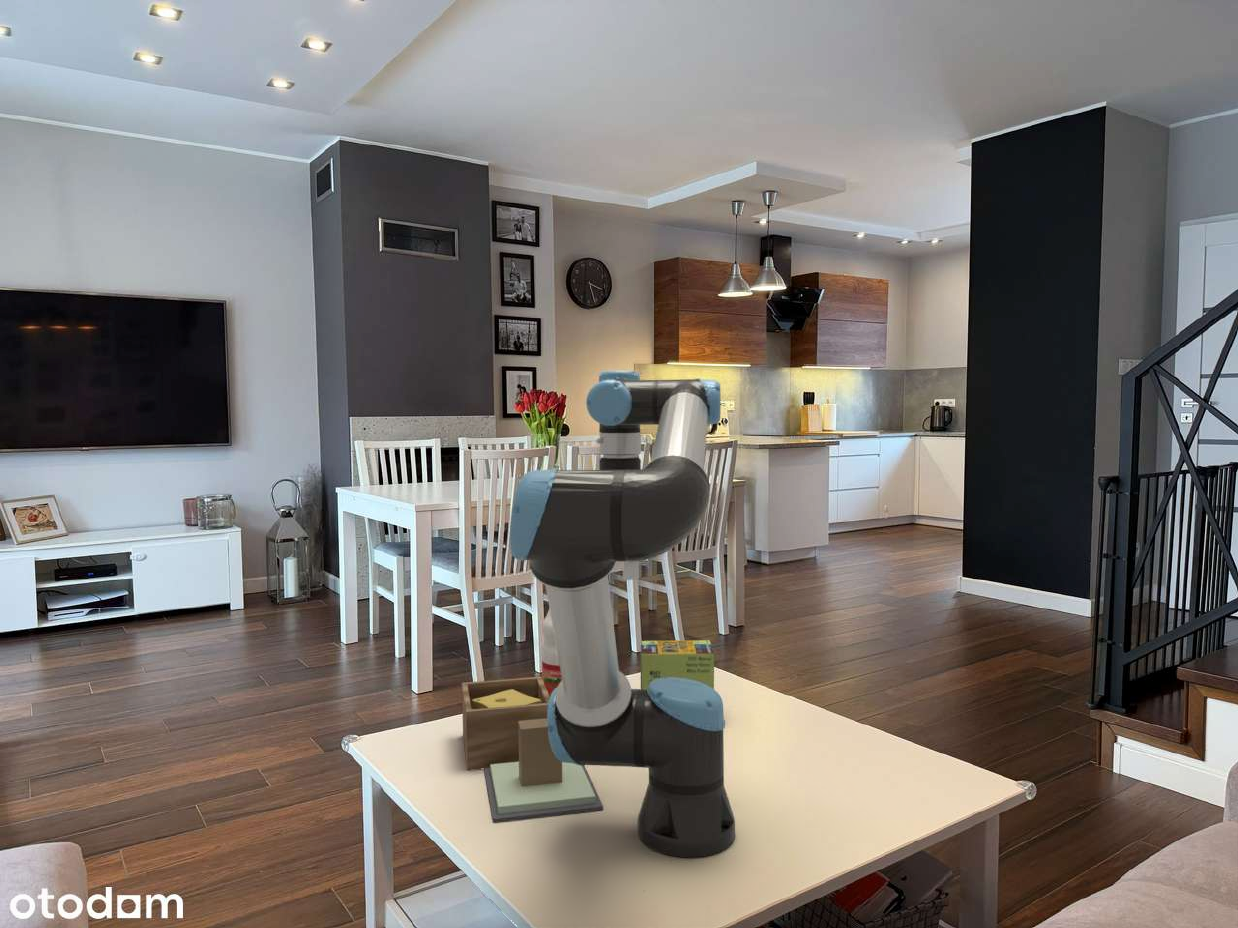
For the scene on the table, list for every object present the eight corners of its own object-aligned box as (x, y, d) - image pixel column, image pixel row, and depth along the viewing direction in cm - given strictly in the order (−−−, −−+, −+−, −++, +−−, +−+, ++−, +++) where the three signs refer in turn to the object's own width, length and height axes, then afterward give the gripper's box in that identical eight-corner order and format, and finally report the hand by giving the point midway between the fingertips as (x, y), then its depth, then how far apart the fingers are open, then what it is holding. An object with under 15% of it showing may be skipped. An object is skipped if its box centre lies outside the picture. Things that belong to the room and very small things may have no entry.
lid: (595, 803, 141) (594, 737, 141) (498, 813, 138) (497, 746, 137) (577, 761, 158) (576, 702, 157) (490, 770, 154) (489, 710, 154)
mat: (603, 809, 140) (603, 806, 140) (493, 822, 136) (493, 818, 136) (581, 761, 160) (581, 758, 160) (484, 770, 156) (484, 767, 156)
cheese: (499, 764, 159) (498, 712, 158) (469, 747, 167) (468, 697, 166) (544, 749, 165) (544, 699, 165) (513, 734, 174) (512, 686, 173)
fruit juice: (585, 705, 190) (583, 581, 188) (586, 720, 180) (585, 590, 179) (542, 706, 189) (541, 582, 187) (542, 722, 180) (540, 591, 178)
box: (553, 761, 160) (553, 704, 159) (467, 770, 156) (466, 711, 155) (541, 728, 176) (540, 676, 175) (463, 735, 173) (462, 682, 172)
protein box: (715, 726, 177) (715, 653, 176) (640, 726, 177) (640, 653, 176) (710, 708, 187) (710, 639, 186) (640, 709, 187) (639, 639, 186)
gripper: (584, 453, 165) (585, 561, 167) (617, 461, 141) (618, 587, 143) (621, 452, 167) (622, 559, 169) (660, 459, 143) (661, 584, 145)
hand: (620, 572), depth 156 cm, fingers open, 13 cm apart
